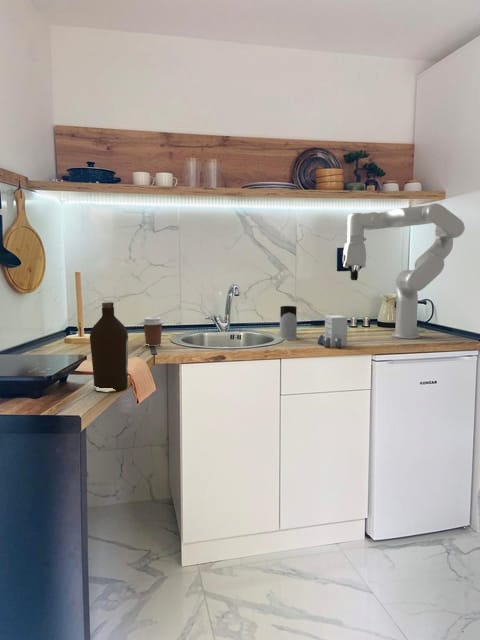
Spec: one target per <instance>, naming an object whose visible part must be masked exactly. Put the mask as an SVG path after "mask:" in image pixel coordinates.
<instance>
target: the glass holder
mask: <svg viewBox="0 0 480 640" xmlns="http://www.w3.org/2000/svg"><path fill="white" fill-rule="evenodd" d="M279 310H280V311H279V314H280V315H279V337H280V338H283V339H284V340H283V341H295V340H296V341H297V340H298V336H297V333H298V332H297V329H298V328H297V325H298V324H297V323H298V321H297V320H298V317H297V306H295V305H282V306H280V309H279Z"/></svg>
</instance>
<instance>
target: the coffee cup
mask: <svg viewBox="0 0 480 640" xmlns="http://www.w3.org/2000/svg"><path fill="white" fill-rule="evenodd" d="M163 324H164V321H163V320H162V318H161V317H159V316H149V317H147V316H146V317H144V320H143V321H142V323H141V325H143V330H144V338H145V345H146V344H149V345H155V346H156V347H159V346H158V345H162V330H163V329H162V328H163Z"/></svg>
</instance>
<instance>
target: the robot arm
mask: <svg viewBox="0 0 480 640" xmlns="http://www.w3.org/2000/svg"><path fill="white" fill-rule="evenodd" d="M346 222H347V224H346V225H347V226H346V227H347V228H346V243H344V247H343V252H342V264H343V265H342V266H343V268H345V269H348V270H349V272H350V275H349V277H350V280H351V281H358V278H359V272H360V270H361V269H363V268H366V262H367V250H366V245H365V244H366V243H365V242H366V241H367V238H366V237H365V230H366V231H372V230H379V229H389V228H390V229H391V228H404V227H405V228H406V227H411V226H420V225H428V224H434V225H435V226H436V227H435V229H434V230H435V231H434V233H435V240H434V242H433V244H432V245H431V246H430V247H429V248H428V249H427V250H425V251H424V252H423V253H422V254H421V255H420V256H418V257H417V259H416V261H415V262H414V268H413V270H412V269H411V270H410V269H406V270H402V271H400V272H399V273H398V274H397V276H396V278H395V290H396V303H395V304H396V305H395V306H396V307H395V328H394V329H395V330H394V332H392V333H391V337H393V338H397V339H405V340H406V339H409V340H411V339H412V340H413V339H419V338H420V337H421V336H420V334H421V333H426V331H427V330H426V328H420V327H418V325H417V323H418V305H419V304H418V303H419V297H418V296H419V295H418V292H420V291H422V290H424V289H425V288H427V286H428V285H429V284H430V283H432V282H433V281H434V280H435V279H436V278H437V277H438V276H439V275H440V274H441V273H442V272H443V270H444V268H445V259H446V258H447V257H449V255H450V254H451V252H452V250H453V245H454V239H456V238H458V237H461V236H462V235H463V234H464V232H465V224H464V221H462V219H461V218H460V217H458V216H457V215H455V214H454V213H453V212H452V211H450V210H449V209H447V208H446V207H445V206H443V204H440V203H437V202H436V203H430V204H426V205H417V206H410V207H401V208H400V207H399V208H396V209H393V210H389V211H383V212H374V211H373V212H364V213H362V212H352V213H349V214H348V215H347V219H346Z"/></svg>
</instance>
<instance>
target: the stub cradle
mask: <svg viewBox="0 0 480 640" xmlns="http://www.w3.org/2000/svg"><path fill="white" fill-rule="evenodd" d="M318 344H319V346H323V345H324V348H325V349H330V348H331V346H330V338H325V333H323V334H318V335H317V345H318ZM335 349H337V350H338V349H342V346H341V338H336V339H335Z"/></svg>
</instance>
